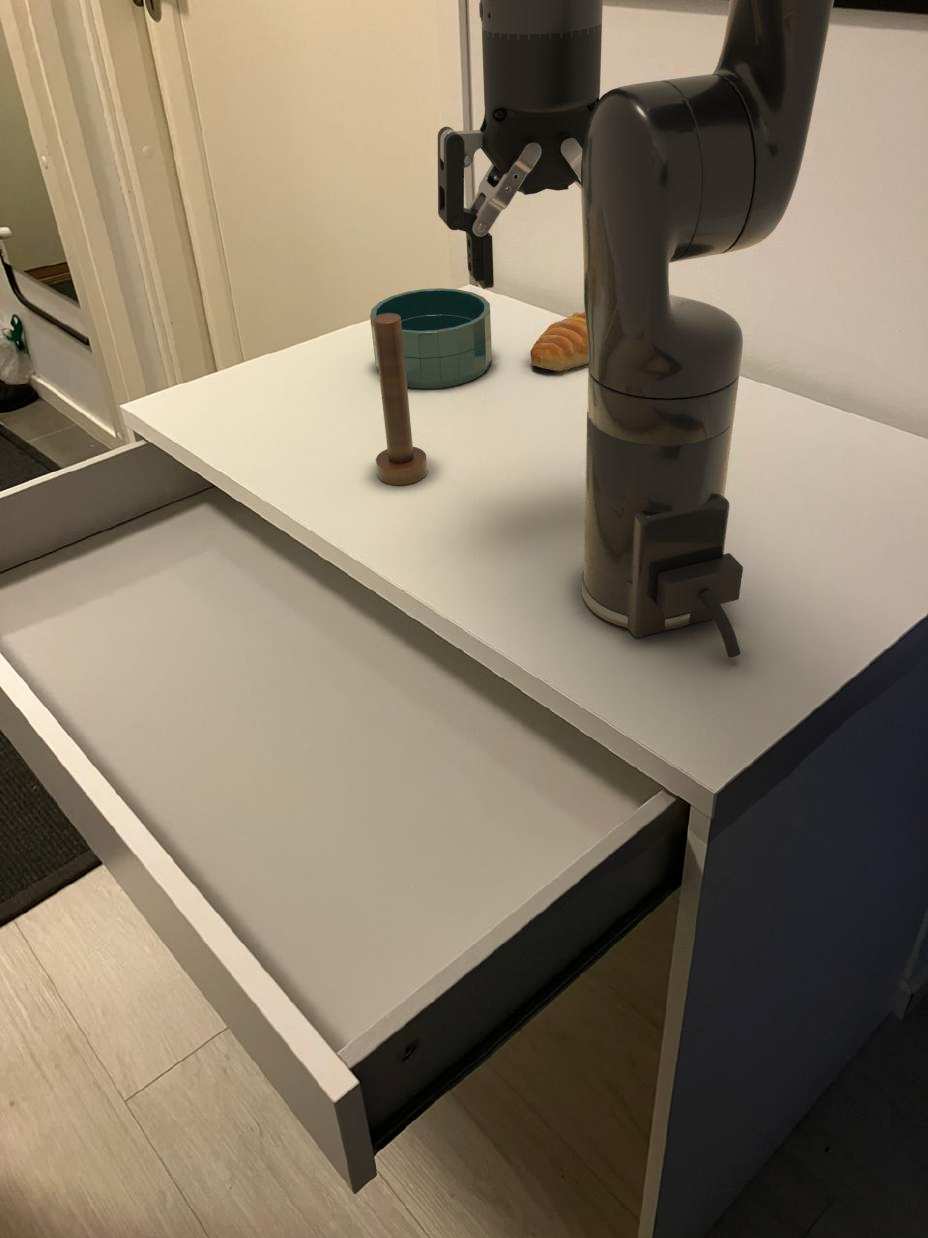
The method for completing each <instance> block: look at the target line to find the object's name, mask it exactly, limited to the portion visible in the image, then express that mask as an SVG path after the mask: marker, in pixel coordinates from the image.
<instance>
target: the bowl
mask: <svg viewBox="0 0 928 1238" xmlns="http://www.w3.org/2000/svg"><path fill="white" fill-rule="evenodd" d="M385 313H394V314H398V315H399V316H400V317H401V325H402V336H403V347H404V358H405V369H406V379H407V388H412V389H426V390H429V389H430V390H431V389H442V388H449V387H455V386H459V385H462V384H465V383H469V382H471V381H473V380H475V379H478V378H479V377H480V376H482V375H483V374H484V373H485V372H486V371H487V370H488V368H489V366H490V362H491V361H492V360H493V352H492V351H493V350H492V349H493V348H492V347H493V346H492V323H491V321H492V320H491V304H490V302H489V301H488V300H487V299H486V298H485V297H484V296H482V295H479V294H477V293H476V292H472V291H469V290H463V289H457V288H444V287H443V288H442V287H441V288H438V287H437V288H422V289H421V288H420V289H414V290H407V291H404V292H401V293H398V294H395V295H394V294H393V295H391V296H389V297H387V298H385V299H383V300H381V301H379V302H378V303H376V304H375V306H373V307H372V308H371V311H370V315H369V318H370V328H371V337H372V338H371V339H372V346H373V354H374V364H375V366H376V367H377V370H379V368H378V359H377V350H376V341H375V332H374V322H373V319H374V317H376V316H377V315H380V314H385Z"/></svg>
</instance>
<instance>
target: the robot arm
mask: <svg viewBox="0 0 928 1238" xmlns="http://www.w3.org/2000/svg"><path fill="white" fill-rule="evenodd" d="M834 3H835V0H729V2H728V10H727V19H726V25H725V32H724V38H723V42H722V47H721V51H720V55H719V58H718V61H717V65H716V67H715V69H714V71H713V72H712V73H711V74H709V73H708V74H700V75H694V76H686V77H685V76H684V77H678V78H670V79H664V80H663V79H662V80H654V81H653V80H652V81H646V82H640V83H639V82H638V83H631V84H628V85H627V84H626V85H622V86H618V87H615V88H612V89H610V90H608V91H607V92H605V93H604V94H602V95H601V77H602V76H601V75H602V73H601V72H602V70H601V69H602V40H603V39H602V37H603V36H602V35H603V8H604V7H603V6H604V0H479V2H478V11H479V18H480V22H481V44H482V45H481V46H482V50H481V51H482V74H483V75H482V76H483V77H482V79H483V104H484V114H483V115H484V116H483V120H482V123H481V126H480V127H479V129H474V130H454V129H453V128H452V127H450V126H443V127H442V128H440V129H439V131H438V133H437V214H438V216H439V218H440V220H441V221H442V222H443V223H444V224H445V225H446V227H447V228H448V229H449V230H450V231H462V232H465V241H466V258H467V259H466V260H467V270H468V273H469V275H470V277H472V279H473V280H474V281H475V282H477V284H478V285H479V286H480V287H481V289H483V290H487V289H493V288H494V285H495V277H494V275H495V274H494V250H493V249H494V247H493V245H494V244H493V235H492V234H491V233H490V231H491V229H492V228H493V225H494V224H495V222H496V220H497V219H498V217H499V216H500V214H501V213H502V211H503V210H506V209H507V208H508V206H509V205H510V204H511V202H512V200H513V199H514V197H515V195H516V194H517V192H519V193H522V194H523V195H524V196H528V195H529V196H530V195H535V194H539V193H541V192H542V191H545V190H551V191H552V190H553V191H557V192H558V191H564V190H569V187H570V186H571V185H573V184H575V185H576V186H577V187H578V188H579V190H580V201H581V202H580V203H581V204H580V205H581V225H582V249H583V251H582V253H583V308H584V309H583V310H584V312H585V319H586V327H587V335H588V344H589V363H588V371H587V409H586V410H587V412H586V442H585V443H586V447H585V448H586V449H585V483H584V484H585V485H584V487H585V489H584V493H585V494H584V526H583V527H584V528H583V529H584V531H583V572H582V575H581V595H582V598H583V601H584V602H585V604H586V606H587V607H588V609H590V610H591V611H592V612H593V613H594V614H595V615H597V616H598V617H599V618H601V619H604V620H605V621H607V622H608V623H611V624H613V625H616V626H619V627H622V628H626V629H627V630H628V631H629V632H630V633H631V634H632V635H633V636H634V637H636V638H640V637H645V636H649V635H652V634H653V635H654V634H657V633H662V632H665V631H669V630H674V629H678V628H683V627H686V626H690V625H693V624H698V623H701V622H707V621H709V620H713V622H714V624H715V625H716V627H717V629H718V631H719V633H720V635H721V638H722V641H723V644H724V647H725V651H726V655H727V657H728V658H730V659H732V658H737V657H738V656H740V655H741V650H740V646H739V643H738V642H739V641H738V638H737V635H736V632H735V630H734V627H733V625H732V623H731V621H730V619H729V617H728V615H727V613H726V612H725V610H724V609H723V607H722V605H723V604H726V603H731V602H734V601H738V600H739V599H740V593H741V586H742V578H743V571H744V566H743V565H742V564H741V563H740V562H739V561H738V560H737V559H736V558H735V557H734V555H732V553H730V552H728V553H725V547H726V538H727V530H728V522H729V515H730V506H731V505H730V501H729V500H728V499H727V498H726V497H725V496H726V488H727V487H726V486H727V478H728V471H729V461H730V455H731V454H730V453H731V447H732V446H731V445H732V437H733V430H734V429H733V428H734V419H735V413H736V406H737V405H736V404H737V397H738V389H739V380H740V371H741V367H742V366H741V365H742V357H743V346H744V336H743V331H742V328H741V326H740V324H739V322H738V321H737V320H736V319H735V318H734V316H732V315H730V314H729V313H728V312H727V311H724V310H723V309H721V308H719V307H717V306H715V305H713V304H710V303H707V302H704V301H700V300H696V299H692V298H689V297H684V296H680V295H679V296H678V295H674V294H670V280H669V278H670V277H669V276H670V274H669V273H670V264H671V263H676V262H682V261H689V260H694V259H701V258H705V257H711V256H717V255H722V254H723V255H724V254H727V253H728V254H729V253H732V252H737V251H741V250H744V249H748V248H751V247H753V246H755V245H757V244H761V242H764V241H765V240H766V239H768V237H769V236H770V235H771V234H772V233H773V232H774V231H775V230H776V228H778V227H777V226H778V225H779V224H780V222H781V221H782V219H783V217H784V216H785V213H786V211H787V208H788V206H789V204H790V202H791V200H792V197H793V194H794V191H795V188H796V186H797V181H798V179H799V175H800V171H801V167H802V163H803V159H804V155H805V150H806V145H807V140H808V136H809V132H810V131H809V130H810V127H811V122H812V115H813V112H814V106H815V100H816V95H817V90H818V85H819V79H820V74H821V71H822V70H821V69H822V64H823V58H824V53H825V48H826V45H827V44H826V43H827V37H828V34H829V33H828V32H829V28H830V23H831V18H832V13H833V12H832V11H833V8H834ZM600 96H601V97H600ZM480 149H481V151H482V152H483V154H484V155H485V156H486V158H487V159H488V160H489V161H490V163H491V165H490V166H489V168H488V169H487V171H486V173H485V174H484V176H483V177H482V179H481V181H480V183H479V185H478V189H477V193H476V194H475V196H474V197H473V199H472V201H471V203H470V204H469V206H468V207H467V208H466V207H465V168H468V167H470V166H471V165H472V163H473V161H474V156H475V153H476V152H477V151H478V150H480ZM721 604H722V605H721Z"/></svg>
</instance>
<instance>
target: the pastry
mask: <svg viewBox="0 0 928 1238" xmlns="http://www.w3.org/2000/svg"><path fill="white" fill-rule="evenodd" d="M529 353H530V361H531V366H535V367H538V368H541V369H547V370H550V371H556V372H557V371H558V372H560V373H561V372H562V371H565V372H566V371H569V370H570V369H573V368H580V367H582V366H585V365H587V364H588V365H589V344H588V335H587V327H586V319H585V311H583V312H577V311H576V312H574V313H573V314H572V315H571V316H568V317H567V318H564V319H562V320H558V321H554V322H553V323H551V324H550V325H549V326H548V327H547V328H546V330H544V332H543V333H542V334H541V335H539V337H538V339H536V341H535V343H534V344H533V346H532V348H531V349H530V351H529Z"/></svg>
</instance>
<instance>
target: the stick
mask: <svg viewBox="0 0 928 1238" xmlns="http://www.w3.org/2000/svg"><path fill="white" fill-rule="evenodd" d="M373 322H374V332H375V341H376V350H377V359H378V367H377V369H378V368H379V369H378V377H379V385H380V393H381V402H382V412H383V421H384V428H385V429H384V431H385V439H386V449H384V450H382V451H381V452H379V453H378V454H377V456H376V458H375V463H376V465H375V466H376V473H377V478H378V479H379V480H380V481H381V482H382V483H384V484H388V485H393V486H405V485H411V484H412V485H413V484H415V483H417V482H420V481H421V480H423V479H425V477H426V476H427V474H428V458H427V454H426V452H425V451H424V450H423V449H421V448H419V447H417V446H414V445H413V433H412V424H411V414H410V413H411V412H410V402H409V401H410V400H409V391H408V387H407V379H406V369H405V358H404V347H403V336H402V325H401V317H400V316H399V315H398V314H394V313H385V314H380V315H377V316H376V317H374V319H373Z"/></svg>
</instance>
